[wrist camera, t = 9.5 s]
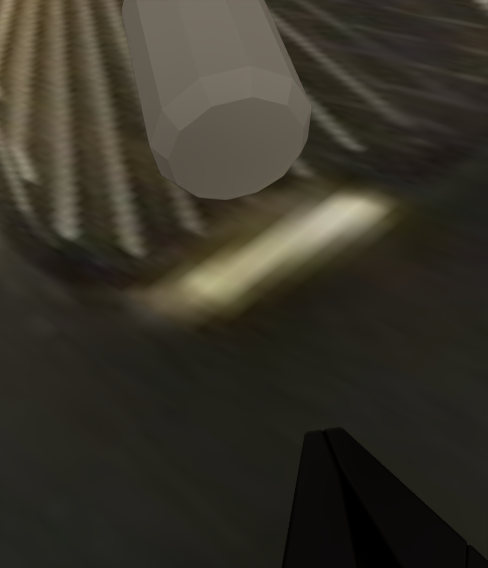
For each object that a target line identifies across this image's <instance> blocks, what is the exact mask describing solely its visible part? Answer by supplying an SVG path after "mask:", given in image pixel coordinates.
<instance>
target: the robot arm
mask: <svg viewBox="0 0 488 568" xmlns="http://www.w3.org/2000/svg"><path fill="white" fill-rule="evenodd" d="M282 568H488V560H486V559H485V558H484V557H483V556H482V555H481V554H480V553H479V552H478V551H477V550H476V549H474V548H473V547H472V546H471V545H468V546H467V542H466V541H465V540H464V539H463V538H462V537H461V536H460V535H459V534H458V533H457V532H456V531H455V530H453V529H452V528H451V527H450V526H449V525H448V524H447V523H446V522H445V521H444V520H442V519H441V518H440V517H439V516H438V515H437V514H436V513H435V512H434V511H433V510H432V509H430V508H429V507H428V506H427V505H426V504H425V503H424V502H423V501H422V500H421V499H420V498H418V497H417V496H416V495H415V494H414V493H413V492H412V491H411V490H410V489H409V488H407V487H406V486H405V485H404V484H403V483H402V482H401V481H400V480H399V479H398V478H397V477H395V476H394V475H393V474H392V473H391V472H390V471H389V470H388V469H387V468H386V467H384V466H383V465H382V464H381V463H380V462H379V461H378V460H377V459H376V458H375V457H374V456H372V455H371V454H370V453H369V452H368V451H367V450H366V449H365V448H364V447H363V446H361V445H360V444H359V443H358V442H357V441H356V440H355V439H354V438H353V437H352V436H351V435H349V434H348V433H347V432H346V431H345V430H344V429H343V428H341V427H336V428H329V429H325V430H324V432H323V431H322V430H315V431H308V432H306V433H305V436H304V441H303V447H302V453H301V459H300V464H299V470H298V476H297V482H296V488H295V493H294V499H293V505H292V511H291V516H290V522H289V528H288V534H287V540H286V545H285V551H284V557H283V563H282Z"/></svg>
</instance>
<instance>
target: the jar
mask: <svg viewBox="0 0 488 568" xmlns="http://www.w3.org/2000/svg"><path fill="white" fill-rule="evenodd" d="M122 16H123V21H124V26H125V30H126V35H127V40H128V45H129V50H130V54H131V59H132V64H133V69H134V74H135V78H136V83H137V88H138V93H139V98H140V102H141V107H142V112H143V117H144V122H145V126H146V131H147V136H148V141H149V146H150V148H151V151H152V153H153V156H154V158H155V161H156V164H157V166H158V169H159V171H160V174H161V175H162V176H163V177H165V178H167V179H168V180H170V181H171V182H173V183H175V184H176V185H178V186H180V187H181V188H183V189H184V190H186V191H188V192H189V193H191V194H193V195H195V196H197V197H199V198H210V199H221V200H229V199H233V198H237V197H241V196H245V195H249V194H253V193H257V192H259V191H260V190H262V189H263V188H265V187H267V186H268V185H270V184H272V183H273V182H275V181H276V180H278V179H280V178H281V177H283V176H284V175H285V173H286V172H287V171H288V169H289V168H290V167H291V165H292V164H293V163H294V161H295V160H296V159H297V157H298V156H299V155H300V154H301V152H302V150H303V147H304V145H305V143H306V141H307V139H308V131H309V123H310V116H311V108H312V107H311V104H310V102H309V100H308V98H307V95H306V93H305V91H304V89H303V86H302V84H301V82H300V80H299V77H298V75H297V73H296V71H295V68H294V66H293V64H292V62H291V59H290V57H289V55H288V53H287V50H286V48H285V46H284V44H283V41H282V39H281V37H280V35H279V32H278V30H277V28H276V26H275V24H274V21H273V19H272V17H271V15H270V12H269V10H268V8H267V6H266V3H265V1H264V0H124V3H123V8H122Z"/></svg>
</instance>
